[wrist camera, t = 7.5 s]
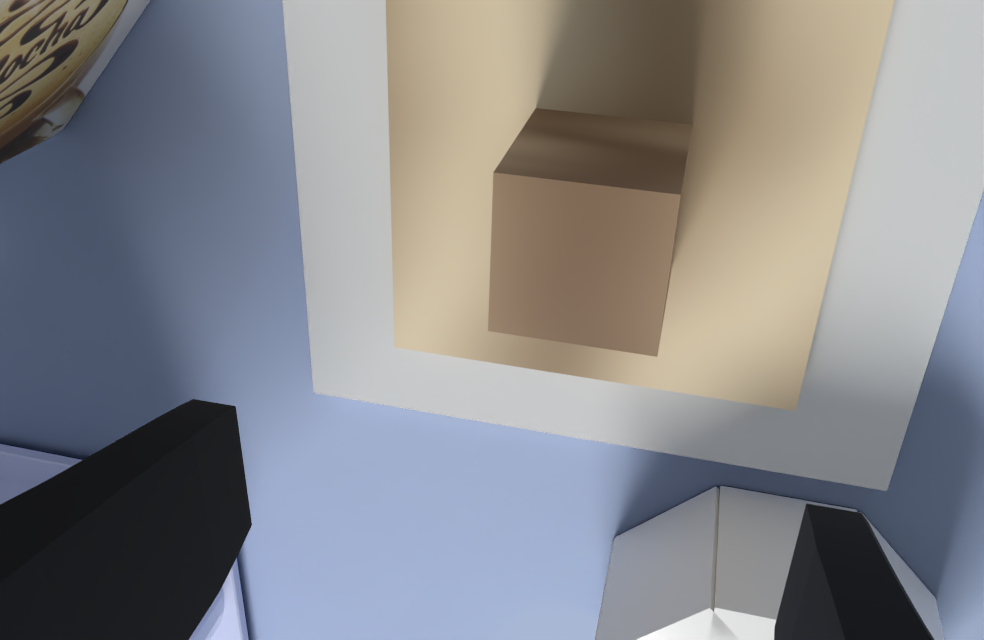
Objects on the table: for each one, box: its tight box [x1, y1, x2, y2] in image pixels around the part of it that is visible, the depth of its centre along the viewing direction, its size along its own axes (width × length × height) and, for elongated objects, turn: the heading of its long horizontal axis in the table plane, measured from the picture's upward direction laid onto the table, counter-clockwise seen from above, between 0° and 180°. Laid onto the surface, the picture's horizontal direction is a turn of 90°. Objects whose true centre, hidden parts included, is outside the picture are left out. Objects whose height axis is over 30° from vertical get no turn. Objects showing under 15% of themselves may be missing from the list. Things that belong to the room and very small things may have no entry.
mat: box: [282, 0, 984, 491], centre depth 19 cm, size 14×14×1 cm
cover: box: [386, 0, 895, 411], centre depth 17 cm, size 9×9×4 cm
